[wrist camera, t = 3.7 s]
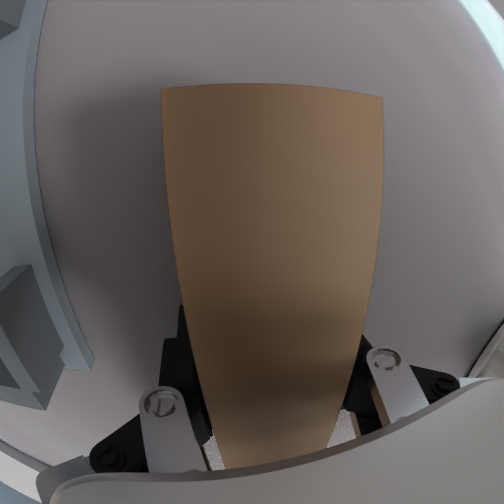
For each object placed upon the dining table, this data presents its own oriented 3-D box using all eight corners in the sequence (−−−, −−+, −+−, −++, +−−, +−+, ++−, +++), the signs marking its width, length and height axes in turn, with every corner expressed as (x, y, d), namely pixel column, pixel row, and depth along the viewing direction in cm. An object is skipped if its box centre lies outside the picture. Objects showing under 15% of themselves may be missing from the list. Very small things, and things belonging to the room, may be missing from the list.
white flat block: (-56, 377, 13) (-41, 425, 13) (-72, 393, 8) (-53, 441, 8) (175, 482, 23) (162, 513, 23) (179, 511, 18) (165, 537, 18)
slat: (298, 117, 9) (382, 97, 4) (288, 415, 15) (311, 481, 10) (182, 120, 8) (160, 89, 4) (223, 425, 14) (235, 495, 10)
